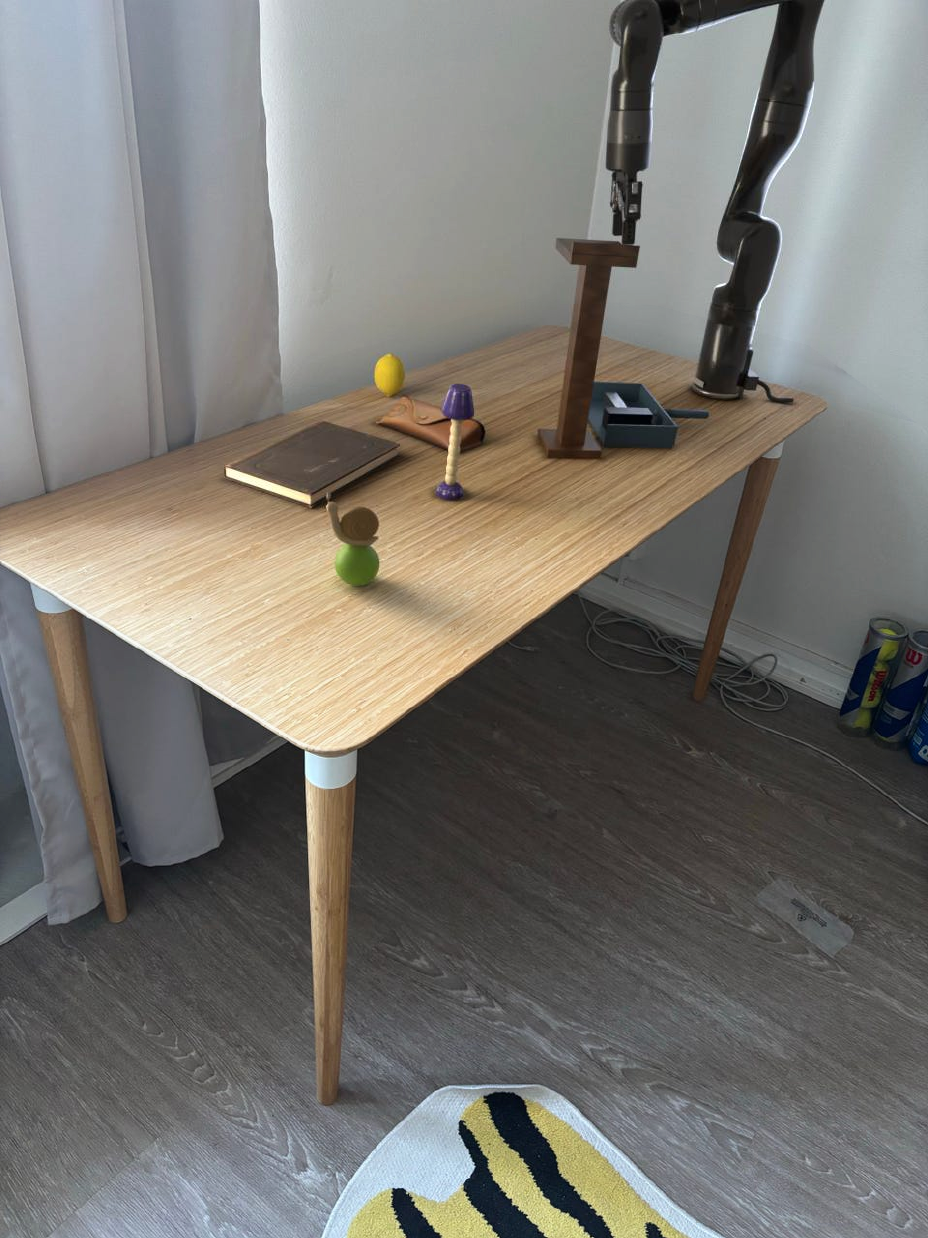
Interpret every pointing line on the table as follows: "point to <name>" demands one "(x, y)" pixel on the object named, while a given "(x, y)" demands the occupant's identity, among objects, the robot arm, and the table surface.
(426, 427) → the sunglasses case
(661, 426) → the scoop
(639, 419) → the t-shaped mallet
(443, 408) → the toy lamp
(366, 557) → the snail figurine
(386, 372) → the lemon
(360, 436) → the hardcover book
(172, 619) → the table surface
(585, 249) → the stand
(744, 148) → the robot arm
